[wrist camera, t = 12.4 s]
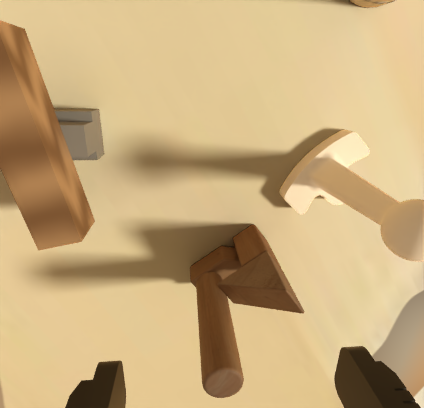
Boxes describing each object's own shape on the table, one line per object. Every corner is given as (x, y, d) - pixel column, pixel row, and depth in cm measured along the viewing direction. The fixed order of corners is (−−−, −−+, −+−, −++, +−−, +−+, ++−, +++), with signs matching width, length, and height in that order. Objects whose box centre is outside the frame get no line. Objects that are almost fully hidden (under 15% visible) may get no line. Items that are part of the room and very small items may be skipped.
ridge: (23, 108, 33) (-10, 114, 27) (98, 109, 34) (81, 114, 28) (32, 154, 35) (3, 167, 29) (104, 153, 35) (89, 166, 30)
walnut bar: (-23, 38, 25) (-64, 29, 21) (24, 29, 25) (-7, 18, 21) (57, 228, 32) (38, 250, 28) (94, 221, 32) (81, 241, 28)
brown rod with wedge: (267, 241, 42) (323, 345, 25) (204, 282, 43) (217, 407, 27) (252, 222, 40) (301, 318, 24) (188, 265, 42) (192, 385, 25)
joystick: (340, 122, 37) (501, 161, 18) (374, 163, 39) (548, 236, 20) (272, 187, 39) (353, 281, 20) (309, 222, 41) (411, 336, 23)
